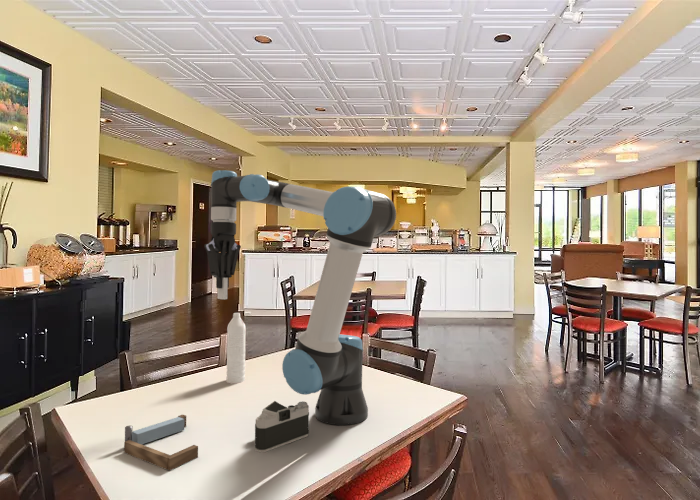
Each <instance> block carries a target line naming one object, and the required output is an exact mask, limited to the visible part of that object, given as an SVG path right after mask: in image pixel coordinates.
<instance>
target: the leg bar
mask: <svg viewBox="0 0 700 500" xmlns="http://www.w3.org/2000/svg"><path fill="white" fill-rule="evenodd" d="M181 431H185V428H184V419H183V418H180V417H178V416H177V417H173V418H170V419H168V420H165V421H162V422H161V421H160V422H157V423H155V424H152V425H148V426H145V427H142V428H140V429H139V428H138V429H136V430H132V441H133V442H136V443H139V444H141V445H144V444H148V443H150V442H153V441H156V440H159V439H161V438H164V437H168V436H170V435H174V434H176V433H180V432H181Z"/></svg>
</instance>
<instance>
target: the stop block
mask: <svg viewBox="0 0 700 500" xmlns="http://www.w3.org/2000/svg"><path fill="white" fill-rule="evenodd" d="M177 417H180V418H183V419H184V429H185V428H186V427H187V415H185V414H180V415H178V416H177Z"/></svg>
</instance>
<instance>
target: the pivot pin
mask: <svg viewBox="0 0 700 500" xmlns="http://www.w3.org/2000/svg"><path fill="white" fill-rule="evenodd" d="M132 431H133V425H126V426H124V442H125V441H128V440H131V441H132Z"/></svg>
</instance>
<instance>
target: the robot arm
mask: <svg viewBox="0 0 700 500" xmlns="http://www.w3.org/2000/svg"><path fill="white" fill-rule="evenodd" d="M210 186H211V188H210V189H211V190H210V191H211V192H210V195H211V198H210V199H211V200H210V204H211V205H210V220H211V221H212V222H211V223H210V234H211V239H210V242H209V243H205V244H203V245H204V246H203V247H204V249H205V251H206V253H207V254H206V255H207V261H208V267H209V270H210V271H209V273H210V275H211V276H213V278H215V279H216V282H215V283H216V284H215V285H216V286H215V288H216V289H217V294H216V295H217V299H218V300H228V288H229V285H230V278H232V276H234V275H235V271H236V266H237V261H238V256H239V252H240V250H241V246H242V245H240V244H237V243H236V239H235V235H236V234H237V223H235V222H236V221H237V207H238V206H237V203H239V202H251V203H258V204H266V205H273V206H277V207H282V208H286V209H291V210H295V211H299V212H304V213H306V214H307V213H308V214H312V215H316V216H320V217H323V220H324V225H325V226H326V228H327V231H326V234H325V235H326V237H327V240H328V241H329V246H328V250H327V253H326V258H325V261H324V264H323V268H322V272H321V275H320V279H319V282H318V286H317V291H316V294H315V298H314V301H313V306H312V309H311V312H310V316H309V318H308V319H309V320H308V323H307V325H306V326H307V327H306V330H305V331H302V332H301V333H299V335H298V337H297V341H296V345H295V348H293V349H291V350H289V351H288V352H287V353H286V354H285V355H284V358H283V360H282V368H281V369H282V373H283V374H282V375H283V377H284V378H285V381H286V383H287V385H288V386H289V388H290V389H291V390H293V392H295V393H297V394H299V395H310V394H315V393H318V392H319V396H318V399H317V401H316V404H315V408H314V415H315V418H316V419H317V420H318V421H320V422H322V423H325V424H330V425H337V426H338V425H340V426H342V425H343V426H345V425H355V424H358V423H361V422H363V421H365V420H366V419H367V418H368V416H369V408H368V403H367V401H366V398H365V394H364V390H363V352H364V349H363V340H362V339H361V337H359V336H357V335H356V336H355V335H351V334H350V335H349V334H342V333H341V331H342V328H343V324H344V321H345V316H346V313H347V310H348V306H349V302H350V300H351V295H352V291H353V290H354V289H353V288H354V286H355V282H356V279H357V275H358V271H359V267H360V264H361V261H362V257H363V254H364V252H366V251H368V250H369V249H371V247H372V244H373V242H374V237H380V236H383V235H385V234H387V233H388V232H389V231H391V229H392V228H393V227H394V225H395V222H396V220H397V209H396V207H395V203H394V202H393V200H391V199H390V197H388V196H387V195H385V194H384V193H381V192H377V191H372V190H369V189H365V188H362V187H361V186H360V187H358V186H342V187H340V188H337V189H336V190H335V191H328V190H324V189H319V188H313V187H310V186H309V187H308V186H303V185H297V184H291V183H286V182H283V181H282V182H281V181H277V180H272V179H271V180H270V179H268V178H266V177H265V176H264V175H262V174H258V173H257V174H254V173H250V174H245V175H238V174H237V172H235V171H233V170H225V169H222V170H219V169H218V170H215V171H212V173H211V184H210ZM340 333H341V334H340Z"/></svg>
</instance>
